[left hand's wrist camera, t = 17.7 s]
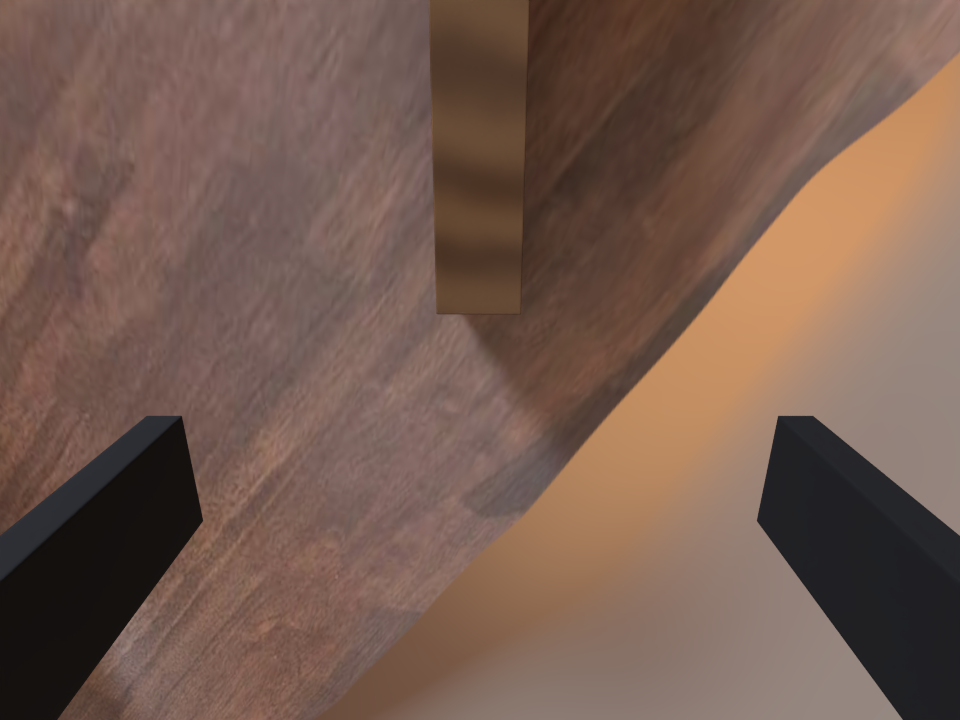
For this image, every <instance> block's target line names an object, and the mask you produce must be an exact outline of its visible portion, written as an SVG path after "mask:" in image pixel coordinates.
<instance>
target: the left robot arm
mask: <svg viewBox="0 0 960 720" xmlns="http://www.w3.org/2000/svg"><path fill="white" fill-rule="evenodd" d="M202 522H203V518H202V513H201V508H200V503H199V498H198V493H197V488H196V484H195V479H194V474H193V469H192V464H191V459H190V454H189V449H188V444H187V439H186V434H185V429H184V425H183V420H182V416H146V417H145V418H144V419H143V420H141V421H140V422H139V423H138V424H137V425H135V426H134V427H133V428H132V429H130V430H129V431H128V432H127V433H126V434H124V435H123V436H122V437H121V438H119V439H118V440H117V441H116V442H115V443H113V444H112V445H111V446H110V447H108V448H107V449H106V450H105V451H104V452H102V453H101V454H100V455H99V456H97V457H96V458H95V459H94V460H93V461H91V462H90V463H89V464H88V465H86V466H85V467H84V468H83V469H82V470H80V471H79V472H78V473H77V474H75V475H74V476H73V477H72V478H70V479H69V480H68V481H67V482H66V483H64V484H63V485H62V486H61V487H59V488H58V489H57V490H56V491H55V492H53V493H52V494H51V495H50V496H48V497H47V498H46V499H45V500H44V501H42V502H41V503H40V504H39V505H37V506H36V507H35V508H34V509H33V510H31V511H30V512H29V513H28V514H26V515H25V516H24V517H23V518H22V519H20V520H19V521H18V522H17V523H15V524H14V525H13V526H12V527H11V528H9V529H8V530H7V531H6V532H4V533H3V534H2V535H1V536H0V720H57V719H58V718H59V716H60V715H61V714H62V712H63V711H64V710H65V708H66V707H67V705H68V704H69V703H70V701H71V700H72V699H73V697H74V696H75V695H76V693H77V692H78V691H79V689H80V688H81V686H82V685H83V684H84V682H85V681H86V680H87V678H88V677H89V676H90V674H91V673H92V671H93V670H94V669H95V667H96V666H97V665H98V663H99V662H100V661H101V659H102V658H103V656H104V655H105V654H106V652H107V651H108V650H109V648H110V647H111V646H112V644H113V643H114V641H115V640H116V639H117V637H118V636H119V635H120V633H121V632H122V631H123V629H124V628H125V627H126V625H127V624H128V622H129V621H130V620H131V618H132V617H133V616H134V614H135V613H136V612H137V610H138V609H139V607H140V606H141V605H142V603H143V602H144V601H145V599H146V598H147V597H148V595H149V594H150V592H151V591H152V590H153V588H154V587H155V586H156V584H157V583H158V582H159V580H160V579H161V577H162V576H163V575H164V573H165V572H166V571H167V569H168V568H169V567H170V565H171V564H172V563H173V561H174V560H175V558H176V557H177V556H178V554H179V553H180V552H181V550H182V549H183V548H184V546H185V545H186V543H187V542H188V541H189V539H190V538H191V537H192V535H193V534H194V533H195V531H196V530H197V528H198V527H199V526H200V524H201V523H202ZM757 522H758V523H759V524H760V526H761V527H762V528H763V530H764V531H765V532H766V534H767V535H768V537H769V538H770V539H771V541H772V542H773V543H774V545H775V546H776V548H777V549H778V550H779V552H780V553H781V554H782V556H783V557H784V558H785V560H786V561H787V562H788V564H789V565H790V567H791V568H792V569H793V571H794V572H795V573H796V575H797V576H798V577H799V579H800V580H801V582H802V583H803V584H804V586H805V587H806V588H807V590H808V591H809V592H810V594H811V595H812V596H813V598H814V599H815V601H816V602H817V603H818V605H819V606H820V607H821V609H822V610H823V611H824V613H825V614H826V616H827V617H828V618H829V620H830V621H831V622H832V624H833V625H834V626H835V628H836V629H837V631H838V632H839V633H840V635H841V636H842V637H843V639H844V640H845V641H846V643H847V644H848V646H849V647H850V648H851V650H852V651H853V652H854V654H855V655H856V656H857V658H858V659H859V661H860V662H861V663H862V665H863V666H864V667H865V669H866V670H867V671H868V673H869V674H870V676H871V677H872V678H873V680H874V681H875V682H876V684H877V685H878V686H879V688H880V689H881V690H882V692H883V693H884V695H885V696H886V697H887V699H888V700H889V701H890V703H891V704H892V705H893V707H894V708H895V710H896V711H897V712H898V714H899V715H900V716H901V718H902V719H903V720H960V536H959V535H958V534H957V533H956V532H954V531H953V530H952V529H951V528H949V527H948V526H947V525H946V524H945V523H943V522H942V521H941V520H940V519H938V518H937V517H936V516H935V515H934V514H932V513H931V512H930V511H929V510H927V509H926V508H925V507H924V506H922V505H921V504H920V503H919V502H918V501H916V500H915V499H914V498H913V497H912V496H910V495H909V494H908V493H907V492H905V491H904V490H903V489H902V488H900V487H899V486H898V485H897V484H896V483H894V482H893V481H892V480H891V479H890V478H888V477H887V476H886V475H885V474H883V473H882V472H881V471H880V470H878V469H877V468H876V467H875V466H873V465H872V464H871V463H870V462H869V461H867V460H866V459H865V458H864V457H863V456H861V455H860V454H859V453H858V452H856V451H855V450H854V449H853V448H852V447H850V446H849V445H848V444H847V443H845V442H844V441H843V440H842V439H841V438H839V437H838V436H837V435H836V434H834V433H833V432H832V431H831V430H829V429H828V428H827V427H826V426H825V425H823V424H822V423H821V422H820V421H819V420H817V419H816V418H815V417H814V416H778V420H777V425H776V430H775V434H774V439H773V444H772V449H771V454H770V459H769V464H768V469H767V474H766V479H765V484H764V488H763V494H762V498H761V503H760V508H759V513H758V518H757Z"/></svg>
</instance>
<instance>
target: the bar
mask: <svg viewBox="0 0 960 720" xmlns="http://www.w3.org/2000/svg"><path fill="white" fill-rule="evenodd" d="M529 5H530V0H429V33H430V72H431V112H432V152H433V192H434V232H435V272H436V311H437V314H521V287H522V251H523V216H524V181H525V146H526V111H527V75H528V40H529Z"/></svg>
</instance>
